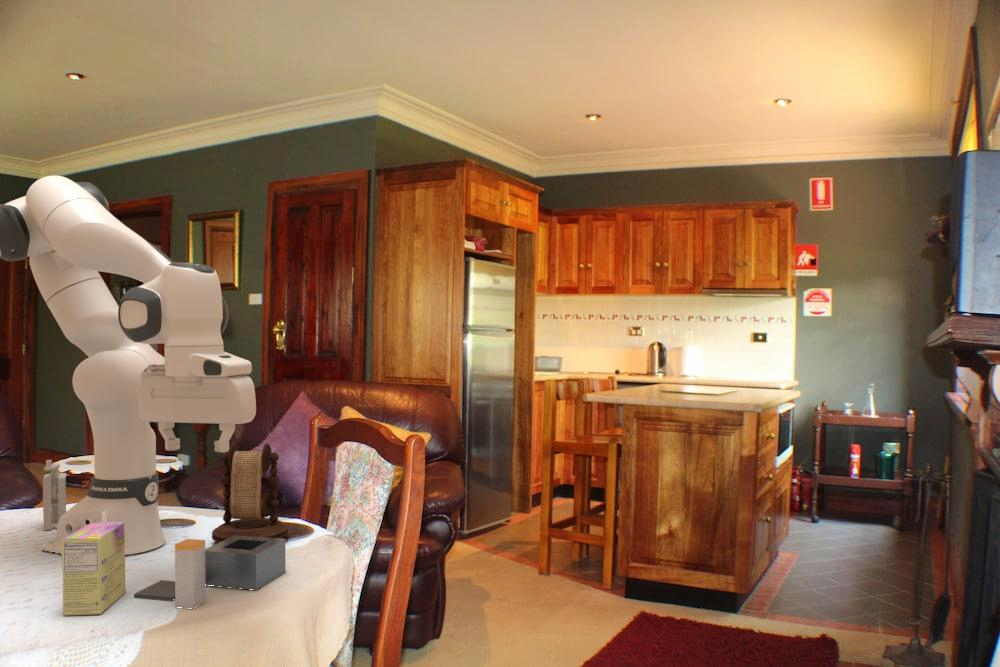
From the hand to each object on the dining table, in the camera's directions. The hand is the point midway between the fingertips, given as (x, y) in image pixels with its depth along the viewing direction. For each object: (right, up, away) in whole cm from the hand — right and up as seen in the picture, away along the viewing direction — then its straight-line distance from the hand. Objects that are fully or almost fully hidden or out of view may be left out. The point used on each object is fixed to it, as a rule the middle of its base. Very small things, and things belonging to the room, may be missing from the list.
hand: (197, 450), depth 129 cm
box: (-16, -24, -1) cm, 29 cm away
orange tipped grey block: (0, -24, -2) cm, 24 cm away
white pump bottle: (-48, -23, +47) cm, 71 cm away
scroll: (-2, -24, +35) cm, 42 cm away
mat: (-7, -24, +5) cm, 25 cm away
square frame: (+4, -24, +11) cm, 27 cm away
